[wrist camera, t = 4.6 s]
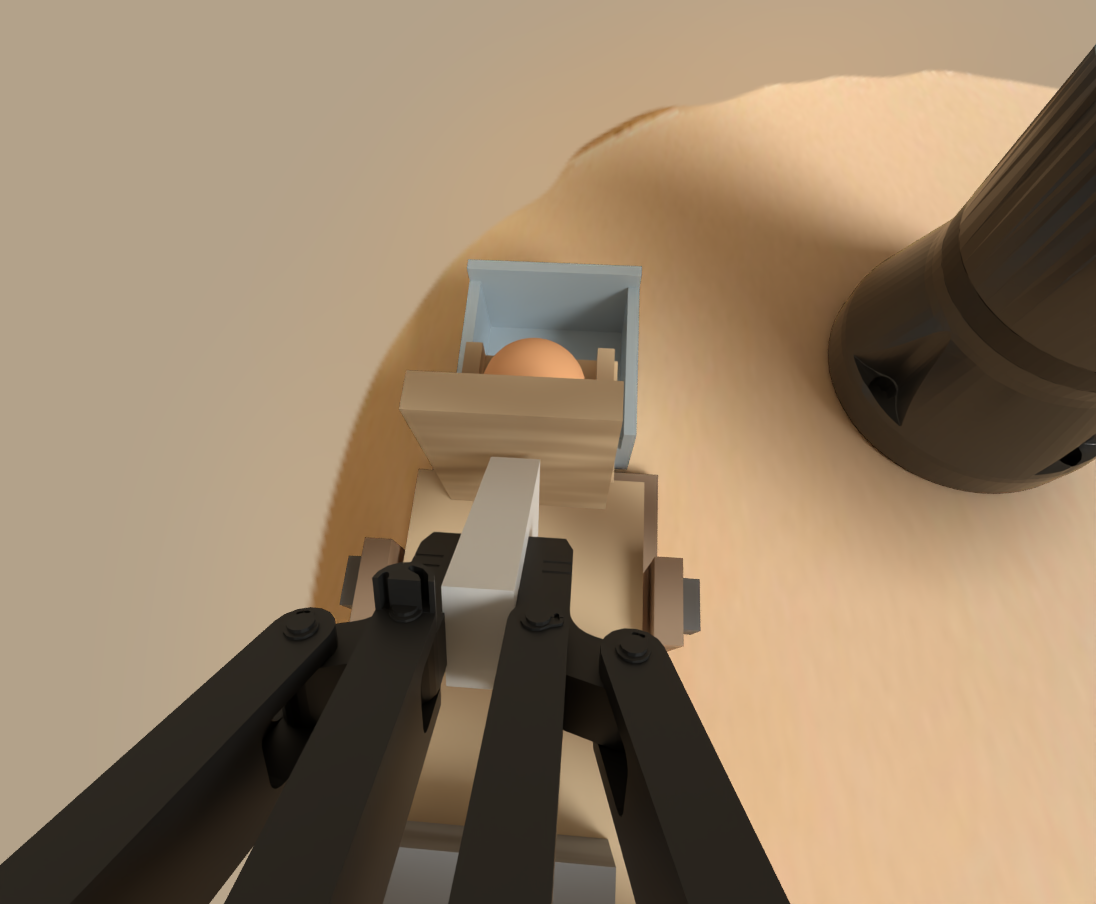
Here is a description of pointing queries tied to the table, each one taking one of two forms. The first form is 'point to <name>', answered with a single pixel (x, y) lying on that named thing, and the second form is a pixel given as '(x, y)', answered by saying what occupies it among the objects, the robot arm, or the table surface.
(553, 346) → the ball
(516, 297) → the blue open box
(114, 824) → the robot arm
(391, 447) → the table surface
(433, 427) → the lever
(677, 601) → the catapult stand
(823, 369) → the table surface
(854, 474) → the table surface
